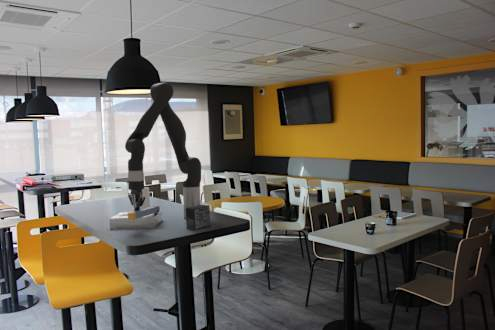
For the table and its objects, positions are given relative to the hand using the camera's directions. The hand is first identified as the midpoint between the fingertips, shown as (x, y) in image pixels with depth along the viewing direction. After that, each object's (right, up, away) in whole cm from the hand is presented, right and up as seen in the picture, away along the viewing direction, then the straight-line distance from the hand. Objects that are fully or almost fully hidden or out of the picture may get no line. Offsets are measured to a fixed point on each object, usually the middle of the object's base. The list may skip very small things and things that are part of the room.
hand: (137, 214), depth 195 cm
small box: (+31, -6, -3) cm, 31 cm away
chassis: (-3, -6, +9) cm, 11 cm away
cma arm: (+4, -1, 0) cm, 4 cm away
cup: (-6, -5, +34) cm, 35 cm away
